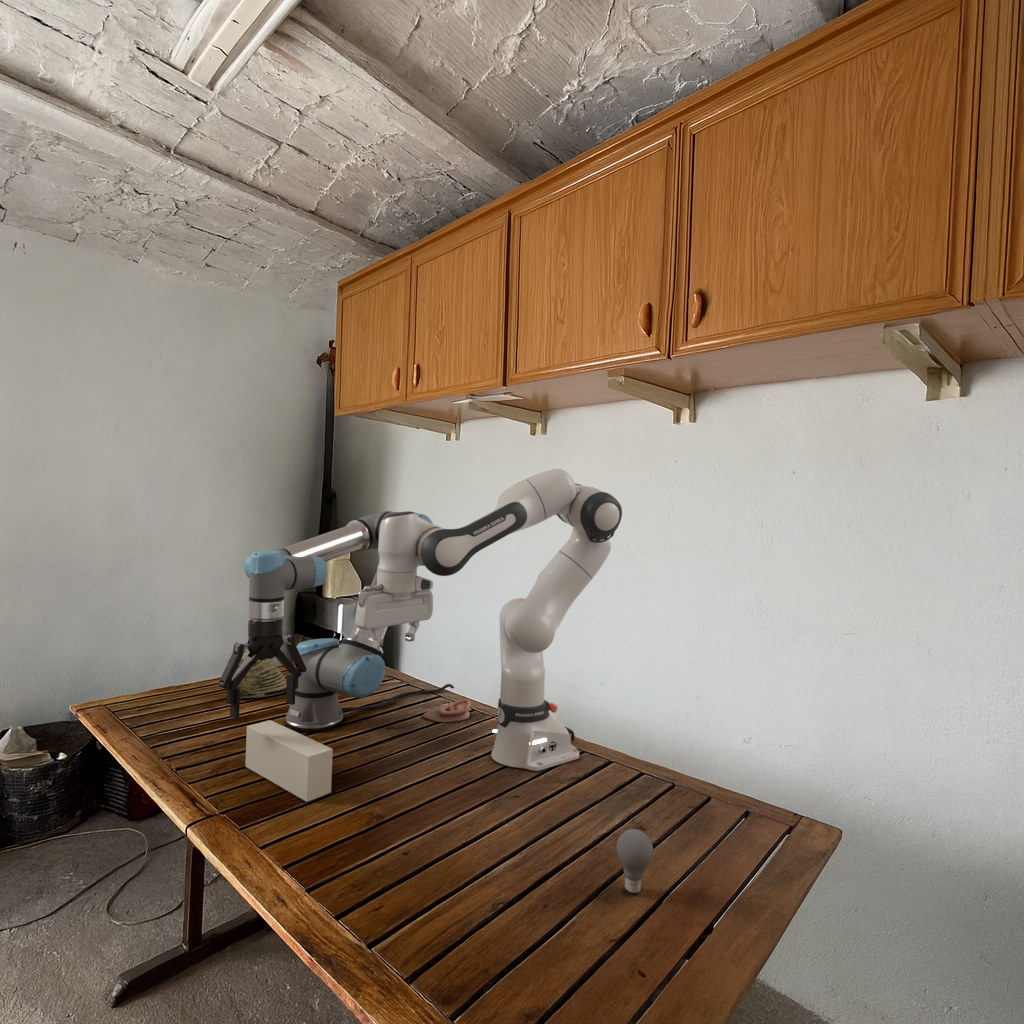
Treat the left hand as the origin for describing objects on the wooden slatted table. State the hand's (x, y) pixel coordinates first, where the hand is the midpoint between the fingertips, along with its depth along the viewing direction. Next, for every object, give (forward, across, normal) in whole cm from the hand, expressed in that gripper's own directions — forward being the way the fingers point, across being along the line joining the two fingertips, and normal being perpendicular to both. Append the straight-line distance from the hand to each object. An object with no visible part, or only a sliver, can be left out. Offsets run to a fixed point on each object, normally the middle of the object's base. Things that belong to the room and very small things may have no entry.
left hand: (263, 710), depth 146 cm
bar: (+14, +1, -9) cm, 16 cm away
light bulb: (+14, +20, -86) cm, 89 cm away
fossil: (+14, +25, +51) cm, 58 cm away
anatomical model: (+14, +55, -4) cm, 57 cm away
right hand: (-17, +18, -24) cm, 35 cm away
